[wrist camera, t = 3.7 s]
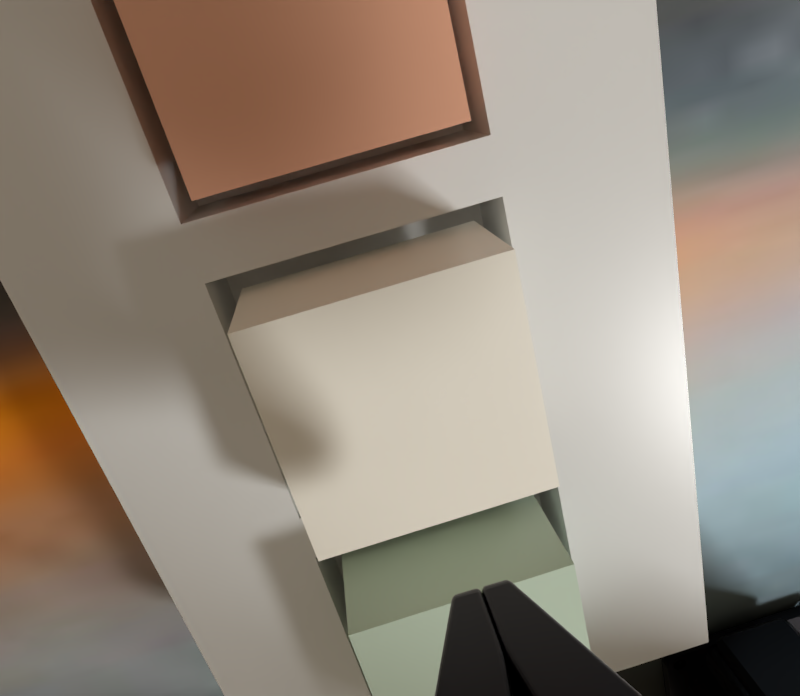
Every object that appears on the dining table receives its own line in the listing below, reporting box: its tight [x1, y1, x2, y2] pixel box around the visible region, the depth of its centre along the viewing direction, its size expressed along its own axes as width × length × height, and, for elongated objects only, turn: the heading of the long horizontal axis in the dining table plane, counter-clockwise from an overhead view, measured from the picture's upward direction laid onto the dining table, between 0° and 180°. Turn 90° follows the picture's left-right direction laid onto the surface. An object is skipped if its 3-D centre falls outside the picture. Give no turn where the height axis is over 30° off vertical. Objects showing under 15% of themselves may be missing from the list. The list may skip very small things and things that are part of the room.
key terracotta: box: [113, 0, 471, 201], centre depth 10 cm, size 5×5×2 cm
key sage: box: [341, 495, 591, 696], centre depth 14 cm, size 5×5×2 cm
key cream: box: [227, 221, 560, 561], centre depth 12 cm, size 5×5×2 cm
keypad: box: [0, 0, 709, 696], centre depth 13 cm, size 27×12×5 cm, turn 15°
